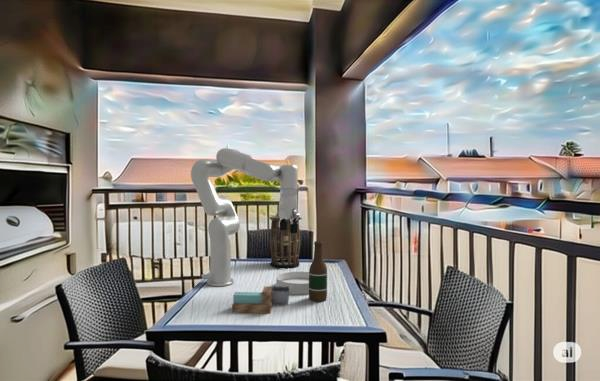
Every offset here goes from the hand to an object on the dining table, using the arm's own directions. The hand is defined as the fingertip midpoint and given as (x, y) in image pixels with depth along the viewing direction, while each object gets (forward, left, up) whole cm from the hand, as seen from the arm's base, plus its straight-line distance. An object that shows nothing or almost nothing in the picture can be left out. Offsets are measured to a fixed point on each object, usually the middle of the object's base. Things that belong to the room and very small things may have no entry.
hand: (288, 231), depth 166 cm
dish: (+5, +7, -27) cm, 28 cm away
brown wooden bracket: (-12, -24, -27) cm, 38 cm away
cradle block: (-3, -14, -27) cm, 30 cm away
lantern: (-5, +52, -27) cm, 59 cm away
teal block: (-13, -24, -23) cm, 36 cm away
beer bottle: (+13, -10, -27) cm, 32 cm away
